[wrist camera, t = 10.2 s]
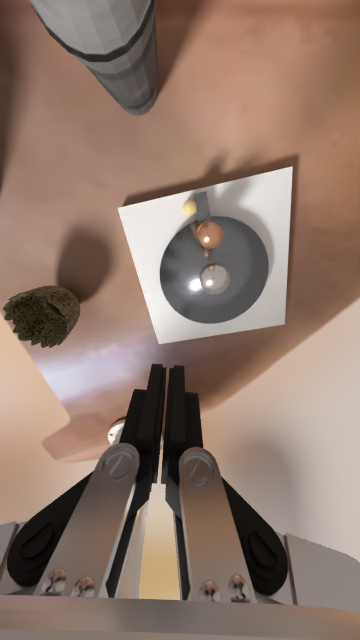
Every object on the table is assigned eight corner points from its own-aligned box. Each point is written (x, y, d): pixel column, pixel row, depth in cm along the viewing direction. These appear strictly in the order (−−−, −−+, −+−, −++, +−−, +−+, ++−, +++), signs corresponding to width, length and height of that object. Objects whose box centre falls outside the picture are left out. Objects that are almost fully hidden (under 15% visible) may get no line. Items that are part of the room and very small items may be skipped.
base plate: (280, 319, 32) (295, 336, 28) (159, 339, 34) (156, 357, 30) (286, 168, 23) (310, 158, 19) (121, 208, 25) (107, 207, 21)
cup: (36, 275, 29) (-10, 295, 22) (85, 272, 29) (54, 292, 22) (54, 320, 33) (19, 349, 26) (98, 318, 33) (74, 347, 26)
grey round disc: (266, 309, 29) (283, 329, 24) (174, 327, 31) (172, 349, 26) (262, 176, 22) (286, 165, 17) (140, 209, 24) (129, 208, 19)
